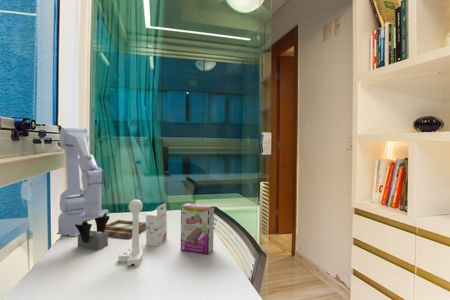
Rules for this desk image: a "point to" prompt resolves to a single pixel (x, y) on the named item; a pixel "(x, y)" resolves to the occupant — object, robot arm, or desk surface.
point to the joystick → (133, 238)
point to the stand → (123, 228)
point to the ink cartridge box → (156, 226)
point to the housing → (94, 240)
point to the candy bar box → (197, 228)
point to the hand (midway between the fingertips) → (93, 238)
